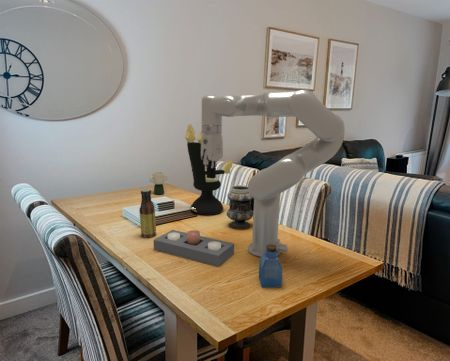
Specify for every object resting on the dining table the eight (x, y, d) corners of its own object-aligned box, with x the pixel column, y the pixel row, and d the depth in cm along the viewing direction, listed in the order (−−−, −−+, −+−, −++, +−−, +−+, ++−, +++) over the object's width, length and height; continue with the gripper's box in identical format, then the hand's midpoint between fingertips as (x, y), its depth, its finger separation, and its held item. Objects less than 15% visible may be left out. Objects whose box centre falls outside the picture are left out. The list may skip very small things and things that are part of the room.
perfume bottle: (277, 277, 111) (279, 242, 108) (281, 287, 105) (283, 250, 102) (258, 277, 111) (260, 242, 108) (261, 287, 105) (262, 250, 102)
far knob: (182, 245, 134) (182, 233, 133) (175, 249, 130) (175, 237, 129) (172, 242, 136) (172, 231, 135) (165, 247, 132) (164, 235, 131)
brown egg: (202, 243, 129) (202, 231, 128) (195, 248, 125) (195, 236, 124) (191, 241, 131) (191, 229, 130) (184, 245, 127) (184, 233, 126)
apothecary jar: (256, 223, 159) (258, 186, 155) (246, 232, 149) (247, 192, 145) (233, 219, 165) (234, 183, 161) (221, 227, 154) (222, 188, 150)
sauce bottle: (149, 231, 148) (148, 186, 144) (159, 235, 144) (158, 189, 140) (137, 235, 143) (135, 189, 139) (146, 239, 139) (145, 192, 135)
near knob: (223, 255, 126) (223, 242, 125) (216, 260, 122) (217, 247, 121) (211, 252, 128) (212, 240, 127) (205, 257, 124) (205, 245, 123)
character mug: (165, 191, 214) (165, 171, 211) (169, 194, 208) (169, 173, 205) (148, 193, 209) (147, 172, 206) (152, 196, 203) (151, 174, 200)
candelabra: (232, 211, 177) (234, 123, 167) (201, 221, 161) (201, 124, 151) (207, 203, 190) (207, 121, 180) (176, 212, 174) (174, 122, 164)
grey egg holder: (234, 253, 128) (234, 243, 127) (218, 266, 117) (218, 255, 116) (172, 238, 140) (172, 229, 139) (153, 249, 130) (153, 239, 129)
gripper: (211, 131, 120) (210, 182, 124) (229, 129, 133) (228, 175, 137) (192, 130, 123) (192, 180, 127) (211, 128, 136) (211, 173, 140)
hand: (211, 177), depth 132 cm, fingers closed
